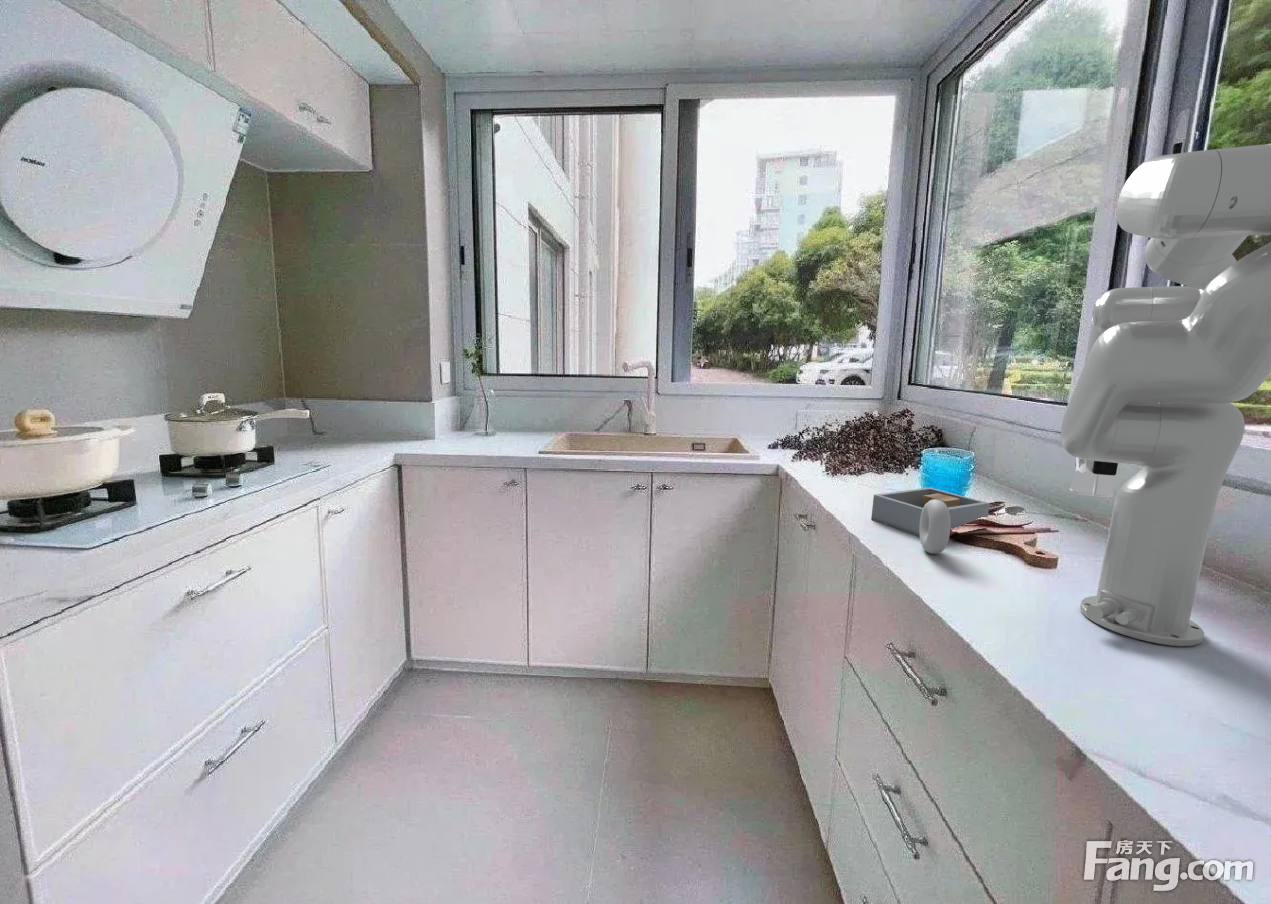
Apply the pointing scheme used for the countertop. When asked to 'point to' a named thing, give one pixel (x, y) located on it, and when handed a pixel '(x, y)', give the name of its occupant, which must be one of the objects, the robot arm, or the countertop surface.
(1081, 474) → the beer glass
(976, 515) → the tray
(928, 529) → the donut
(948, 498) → the walnut cube
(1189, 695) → the countertop surface
